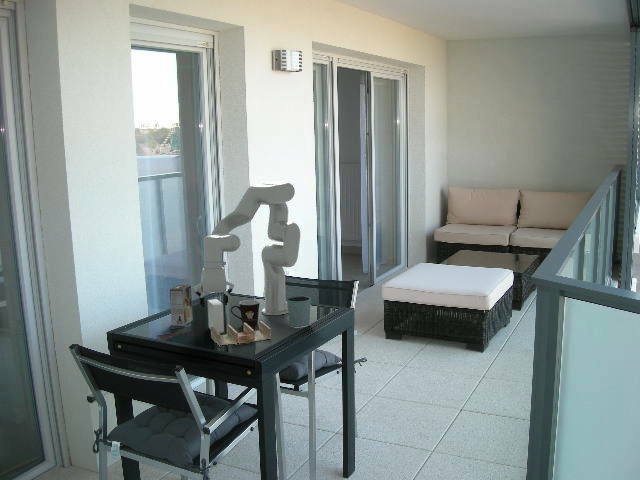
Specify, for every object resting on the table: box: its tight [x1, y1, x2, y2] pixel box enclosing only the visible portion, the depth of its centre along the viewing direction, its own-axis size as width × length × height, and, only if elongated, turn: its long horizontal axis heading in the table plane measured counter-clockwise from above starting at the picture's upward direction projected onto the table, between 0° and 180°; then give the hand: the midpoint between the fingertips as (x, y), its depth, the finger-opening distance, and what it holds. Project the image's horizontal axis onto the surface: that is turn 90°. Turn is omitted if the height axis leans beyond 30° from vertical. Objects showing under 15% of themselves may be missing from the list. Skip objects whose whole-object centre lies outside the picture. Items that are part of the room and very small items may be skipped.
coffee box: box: [169, 284, 193, 327], centre depth 301 cm, size 9×6×16 cm
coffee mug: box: [230, 299, 260, 328], centre depth 297 cm, size 12×9×10 cm
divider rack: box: [210, 320, 272, 347], centre depth 277 cm, size 21×14×5 cm, turn 112°
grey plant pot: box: [286, 295, 312, 327], centre depth 294 cm, size 10×10×12 cm
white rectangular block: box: [207, 298, 225, 334], centre depth 290 cm, size 4×10×12 cm, turn 22°
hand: (214, 305), depth 289 cm, fingers open, 9 cm apart
